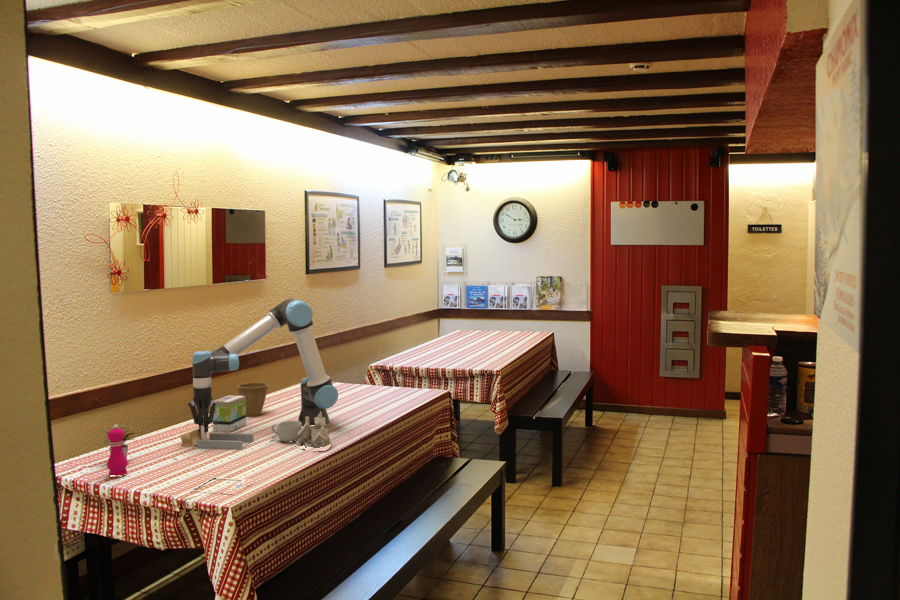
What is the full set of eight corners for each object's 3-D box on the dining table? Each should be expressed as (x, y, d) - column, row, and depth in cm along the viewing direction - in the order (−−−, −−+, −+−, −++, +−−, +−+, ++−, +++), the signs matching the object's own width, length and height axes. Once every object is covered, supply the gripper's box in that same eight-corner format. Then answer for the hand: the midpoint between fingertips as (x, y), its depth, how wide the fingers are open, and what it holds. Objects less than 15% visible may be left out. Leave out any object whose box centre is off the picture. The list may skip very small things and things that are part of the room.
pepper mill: (112, 472, 266) (109, 422, 264) (131, 472, 266) (128, 421, 265) (104, 478, 259) (101, 427, 257) (123, 478, 259) (121, 426, 258)
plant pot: (250, 419, 347) (249, 388, 346) (233, 415, 356) (232, 385, 355) (274, 414, 359) (273, 384, 358) (256, 410, 368) (255, 381, 367)
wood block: (202, 427, 303) (187, 431, 304) (196, 430, 297) (179, 435, 298) (207, 439, 303) (191, 444, 304) (200, 443, 297) (184, 448, 298)
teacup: (306, 438, 312) (306, 421, 311) (293, 445, 302) (293, 427, 301) (280, 436, 316) (279, 419, 316) (266, 442, 306) (266, 424, 306)
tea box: (231, 432, 324) (230, 401, 323) (212, 431, 326) (211, 401, 325) (247, 424, 339) (246, 395, 338) (228, 423, 341) (227, 394, 340)
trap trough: (253, 443, 304) (253, 433, 304) (241, 452, 291) (240, 441, 291) (211, 442, 307) (211, 432, 306) (197, 450, 294) (196, 440, 293)
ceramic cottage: (298, 441, 306) (298, 409, 304) (334, 442, 306) (335, 410, 304) (290, 454, 291) (290, 420, 289) (328, 455, 291) (328, 421, 289)
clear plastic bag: (235, 493, 240) (190, 490, 244) (235, 496, 240) (190, 493, 244) (256, 479, 254) (212, 476, 258) (256, 482, 254) (213, 479, 258)
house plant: (110, 470, 269) (108, 429, 268) (90, 464, 276) (88, 425, 275) (143, 460, 281) (141, 421, 280) (123, 455, 288) (122, 417, 287)
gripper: (220, 385, 301) (221, 437, 302) (192, 384, 302) (194, 437, 304) (212, 388, 293) (214, 442, 295) (184, 388, 295) (186, 441, 296)
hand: (204, 439), depth 299 cm, fingers closed
